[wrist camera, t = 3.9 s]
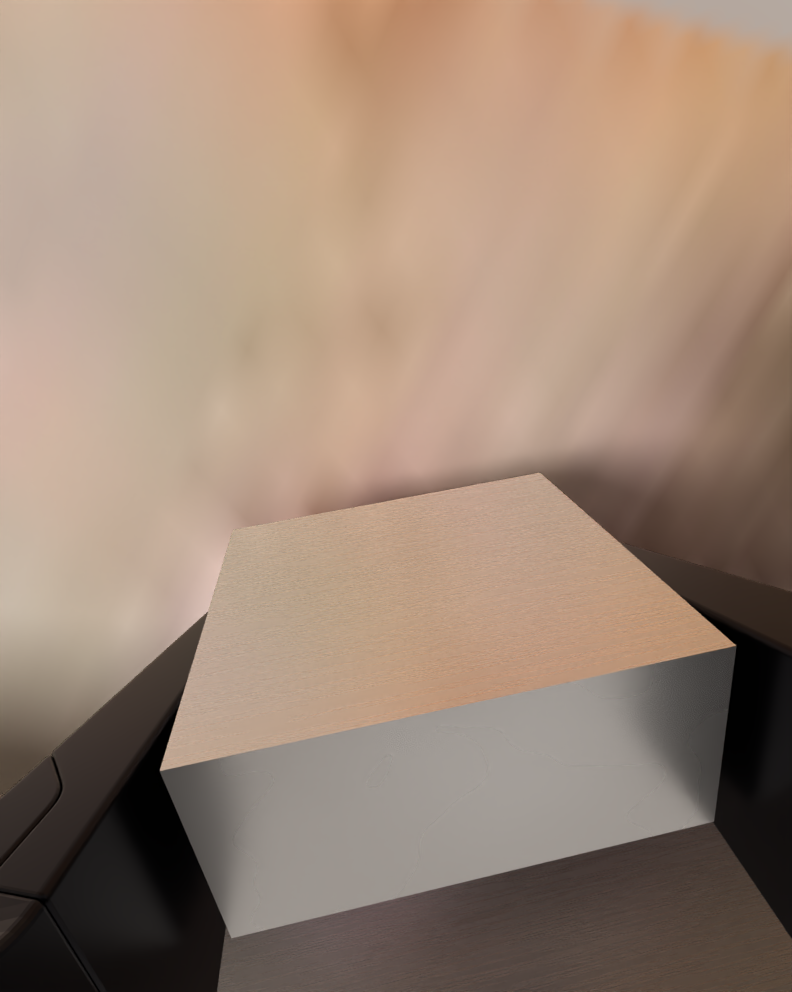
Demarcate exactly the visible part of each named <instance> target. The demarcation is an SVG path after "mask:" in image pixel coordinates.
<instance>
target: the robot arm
mask: <svg viewBox="0 0 792 992" xmlns="http://www.w3.org/2000/svg"><path fill="white" fill-rule="evenodd" d="M619 543H620V544H622V545H623V546H624V547H625V548H626V549H627V550H628V551H629V552H631V553H632V554H633V555H634V556H635V557H636V558H637V559H639V560H640V561H641V562H642V563H643V564H644V565H645V566H647V567H648V568H649V569H650V570H651V571H652V572H653V573H654V574H656V575H657V576H658V577H659V578H660V579H661V580H662V581H664V582H665V583H666V584H667V585H668V586H669V587H670V588H671V589H673V590H674V591H675V592H676V593H677V594H678V595H679V596H681V597H682V598H683V599H684V600H685V601H686V602H687V603H688V604H690V605H691V606H692V607H693V608H694V609H695V610H696V611H698V612H699V613H700V614H701V615H702V616H703V617H704V618H705V619H707V620H708V621H709V622H710V623H711V624H712V625H713V626H715V627H716V628H717V629H718V630H719V631H720V632H721V633H722V634H724V635H725V636H726V637H727V638H728V639H729V640H730V641H732V642H733V643H734V644H735V645H736V653H735V660H734V668H733V676H732V684H731V692H730V700H729V708H728V716H727V724H726V731H725V739H724V747H723V755H722V763H721V771H720V779H719V787H718V794H717V802H716V810H715V818H714V822H713V823H714V825H715V826H716V828H717V829H718V831H719V832H720V834H721V835H722V837H723V838H724V840H725V841H726V843H727V844H728V846H729V847H730V848H731V850H732V851H733V853H734V854H735V856H736V857H737V859H738V860H739V862H740V863H741V865H742V866H743V868H744V869H745V871H746V872H747V874H748V875H749V877H750V878H751V880H752V881H753V883H754V884H755V885H756V887H757V888H758V890H759V891H760V893H761V894H762V896H763V897H764V899H765V900H766V902H767V903H768V905H769V906H770V908H771V909H772V911H773V912H774V914H775V915H776V917H777V918H778V920H779V921H780V922H781V924H782V925H783V927H784V928H785V930H786V931H787V933H788V934H789V936H790V937H791V939H792V592H790V591H786V590H783V589H779V588H776V587H773V586H769V585H766V584H762V583H759V582H755V581H752V580H748V579H745V578H742V577H738V576H735V575H731V574H728V573H724V572H721V571H717V570H714V569H711V568H707V567H704V566H700V565H697V564H693V563H690V562H686V561H683V560H680V559H676V558H673V557H669V556H666V555H662V554H659V553H655V552H652V551H649V550H645V549H642V548H638V547H635V546H631V545H628V544H624V543H621V542H619ZM207 614H208V612H207V613H206V614H205V615H204V616H203V617H201V618H200V619H199V620H198V621H197V622H196V623H195V624H194V625H193V626H191V627H190V628H189V629H188V630H187V631H186V632H185V633H184V634H183V635H181V636H180V637H179V638H178V639H177V640H176V641H175V642H174V643H173V644H171V645H170V646H169V647H168V648H167V649H166V650H165V651H164V652H163V653H162V654H160V655H159V656H158V657H157V658H156V659H155V660H154V661H153V662H152V663H150V664H149V665H148V666H147V667H146V668H145V669H144V670H143V671H142V672H140V673H139V674H138V675H137V676H136V677H135V678H134V679H133V680H132V681H130V682H129V683H128V684H127V685H126V686H125V687H124V688H123V689H122V690H120V691H119V692H118V693H117V694H116V695H115V696H114V697H113V698H112V699H110V700H109V701H108V702H107V703H106V704H105V705H104V706H103V707H102V708H100V709H99V710H98V711H97V712H96V713H95V714H94V715H93V716H92V717H90V718H89V719H88V720H87V721H86V722H85V723H84V724H83V725H82V726H81V727H79V728H78V729H77V730H76V731H75V732H74V733H73V734H72V735H71V736H69V737H68V738H67V739H66V740H65V741H64V742H63V743H62V744H61V745H59V746H58V747H57V748H56V749H55V750H54V751H53V752H52V756H53V757H52V756H47V757H46V758H45V759H44V760H43V761H42V762H40V763H39V764H38V765H37V766H36V767H35V768H34V769H33V770H32V771H31V772H29V773H28V774H27V775H26V776H25V777H24V778H23V779H22V780H20V781H19V782H18V783H17V784H16V785H15V786H14V787H12V788H11V789H10V790H9V791H8V792H7V793H6V794H4V795H3V796H2V797H1V798H0V992H217V989H218V982H219V974H220V967H221V960H222V953H223V945H224V938H225V931H226V924H225V922H224V920H223V917H222V915H221V913H220V910H219V908H218V906H217V904H216V901H215V899H214V897H213V894H212V892H211V890H210V887H209V885H208V883H207V880H206V878H205V876H204V873H203V871H202V869H201V866H200V864H199V862H198V859H197V857H196V855H195V852H194V850H193V848H192V845H191V843H190V841H189V838H188V836H187V834H186V831H185V829H184V827H183V824H182V822H181V820H180V817H179V815H178V813H177V810H176V808H175V806H174V803H173V801H172V799H171V797H170V794H169V792H168V790H167V787H166V785H165V783H164V780H163V778H162V776H161V773H160V768H161V765H162V761H163V758H164V755H165V752H166V748H167V745H168V742H169V739H170V735H171V732H172V729H173V725H174V722H175V719H176V716H177V712H178V709H179V706H180V702H181V699H182V696H183V693H184V689H185V686H186V683H187V679H188V676H189V673H190V670H191V666H192V663H193V660H194V657H195V653H196V650H197V647H198V643H199V640H200V637H201V634H202V630H203V627H204V624H205V620H206V617H207Z"/></svg>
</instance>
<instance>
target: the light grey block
mask: <svg viewBox="0 0 792 992" xmlns="http://www.w3.org/2000/svg"><path fill="white" fill-rule="evenodd" d="M735 653H736V645H735V644H734V643H733V642H732V641H730V640H729V639H728V638H727V637H726V636H725V635H724V634H722V633H721V632H720V631H719V630H718V629H717V628H716V627H715V626H713V625H712V624H711V623H710V622H709V621H708V620H707V619H705V618H704V617H703V616H702V615H701V614H700V613H699V612H698V611H696V610H695V609H694V608H693V607H692V606H691V605H690V604H688V603H687V602H686V601H685V600H684V599H683V598H682V597H681V596H679V595H678V594H677V593H676V592H675V591H674V590H673V589H671V588H670V587H669V586H668V585H667V584H666V583H665V582H664V581H662V580H661V579H660V578H659V577H658V576H657V575H656V574H654V573H653V572H652V571H651V570H650V569H649V568H648V567H647V566H645V565H644V564H643V563H642V562H641V561H640V560H639V559H637V558H636V557H635V556H634V555H633V554H632V553H631V552H629V551H628V550H627V549H626V548H625V547H624V546H623V545H622V544H620V543H619V542H618V541H617V540H616V539H615V538H614V537H612V536H611V535H610V534H609V533H608V532H607V531H606V530H605V529H603V528H602V527H601V526H600V525H599V524H598V523H597V522H595V521H594V520H593V519H592V518H591V517H590V516H589V515H588V514H586V513H585V512H584V511H583V510H582V509H581V508H580V507H578V506H577V505H576V504H575V503H574V502H573V501H572V500H571V499H569V498H568V497H567V496H566V495H565V494H564V493H563V492H561V491H560V490H559V489H558V488H557V487H556V486H555V485H554V484H552V483H551V482H550V481H549V480H548V479H547V478H546V477H544V476H543V475H542V474H541V473H535V474H530V475H525V476H519V477H514V478H508V479H503V480H498V481H492V482H487V483H482V484H476V485H471V486H466V487H460V488H455V489H450V490H444V491H439V492H433V493H428V494H423V495H417V496H412V497H407V498H401V499H396V500H391V501H385V502H380V503H375V504H369V505H364V506H358V507H353V508H348V509H342V510H337V511H332V512H326V513H321V514H316V515H310V516H305V517H300V518H294V519H289V520H284V521H278V522H273V523H267V524H262V525H257V526H251V527H246V528H241V529H235V530H233V532H232V535H231V538H230V542H229V545H228V548H227V552H226V555H225V558H224V561H223V565H222V568H221V571H220V575H219V578H218V581H217V584H216V588H215V591H214V594H213V598H212V601H211V604H210V607H209V611H208V614H207V617H206V620H205V624H204V627H203V630H202V634H201V637H200V640H199V643H198V647H197V650H196V653H195V657H194V660H193V663H192V666H191V670H190V673H189V676H188V679H187V683H186V686H185V689H184V693H183V696H182V699H181V702H180V706H179V709H178V712H177V716H176V719H175V722H174V725H173V729H172V732H171V735H170V739H169V742H168V745H167V748H166V752H165V755H164V758H163V761H162V765H161V768H160V773H161V776H162V778H163V780H164V783H165V785H166V787H167V790H168V792H169V794H170V797H171V799H172V801H173V803H174V806H175V808H176V810H177V813H178V815H179V817H180V820H181V822H182V824H183V827H184V829H185V831H186V834H187V836H188V838H189V841H190V843H191V845H192V848H193V850H194V852H195V855H196V857H197V859H198V862H199V864H200V866H201V869H202V871H203V873H204V876H205V878H206V880H207V883H208V885H209V887H210V890H211V892H212V894H213V897H214V899H215V901H216V904H217V906H218V908H219V910H220V913H221V915H222V917H223V920H224V922H225V924H226V927H227V929H228V931H229V934H230V936H231V938H235V937H239V936H243V935H247V934H251V933H256V932H260V931H264V930H268V929H272V928H276V927H280V926H284V925H289V924H293V923H297V922H301V921H305V920H309V919H313V918H318V917H322V916H326V915H330V914H334V913H338V912H342V911H346V910H351V909H355V908H359V907H363V906H367V905H371V904H375V903H379V902H384V901H388V900H392V899H396V898H400V897H404V896H408V895H413V894H417V893H421V892H425V891H429V890H433V889H437V888H441V887H446V886H450V885H454V884H458V883H462V882H466V881H470V880H475V879H479V878H483V877H487V876H491V875H495V874H499V873H503V872H508V871H512V870H516V869H520V868H524V867H528V866H532V865H537V864H541V863H545V862H549V861H553V860H557V859H561V858H565V857H570V856H574V855H578V854H582V853H586V852H590V851H594V850H598V849H603V848H607V847H611V846H615V845H619V844H623V843H627V842H632V841H636V840H640V839H644V838H648V837H652V836H656V835H660V834H665V833H669V832H673V831H677V830H681V829H685V828H689V827H694V826H698V825H702V824H706V823H710V822H714V818H715V810H716V802H717V794H718V787H719V779H720V771H721V763H722V755H723V747H724V739H725V731H726V724H727V716H728V708H729V700H730V692H731V684H732V676H733V668H734V660H735Z"/></svg>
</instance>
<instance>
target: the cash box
mask: <svg viewBox="0 0 792 992" xmlns="http://www.w3.org/2000/svg"><path fill="white" fill-rule="evenodd" d="M217 992H792V939H791V937H790V936H789V934H788V933H787V931H786V930H785V928H784V927H783V925H782V924H781V922H780V921H779V920H778V918H777V917H776V915H775V914H774V912H773V911H772V909H771V908H770V906H769V905H768V903H767V902H766V900H765V899H764V897H763V896H762V894H761V893H760V891H759V890H758V888H757V887H756V885H755V884H754V883H753V881H752V880H751V878H750V877H749V875H748V874H747V872H746V871H745V869H744V868H743V866H742V865H741V863H740V862H739V860H738V859H737V857H736V856H735V854H734V853H733V851H732V850H731V848H730V847H729V846H728V844H727V843H726V841H725V840H724V838H723V837H722V835H721V834H720V832H719V831H718V829H717V828H716V826H715V825H714V823H713V822H710V823H706V824H702V825H698V826H694V827H689V828H685V829H681V830H677V831H673V832H669V833H665V834H660V835H656V836H652V837H648V838H644V839H640V840H636V841H632V842H627V843H623V844H619V845H615V846H611V847H607V848H603V849H598V850H594V851H590V852H586V853H582V854H578V855H574V856H570V857H565V858H561V859H557V860H553V861H549V862H545V863H541V864H537V865H532V866H528V867H524V868H520V869H516V870H512V871H508V872H503V873H499V874H495V875H491V876H487V877H483V878H479V879H475V880H470V881H466V882H462V883H458V884H454V885H450V886H446V887H441V888H437V889H433V890H429V891H425V892H421V893H417V894H413V895H408V896H404V897H400V898H396V899H392V900H388V901H384V902H379V903H375V904H371V905H367V906H363V907H359V908H355V909H351V910H346V911H342V912H338V913H334V914H330V915H326V916H322V917H318V918H313V919H309V920H305V921H301V922H297V923H293V924H289V925H284V926H280V927H276V928H272V929H268V930H264V931H260V932H256V933H251V934H247V935H243V936H239V937H235V938H231V936H230V934H229V931H228V929H227V927H226V931H225V938H224V945H223V953H222V960H221V967H220V974H219V982H218V989H217Z"/></svg>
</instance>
